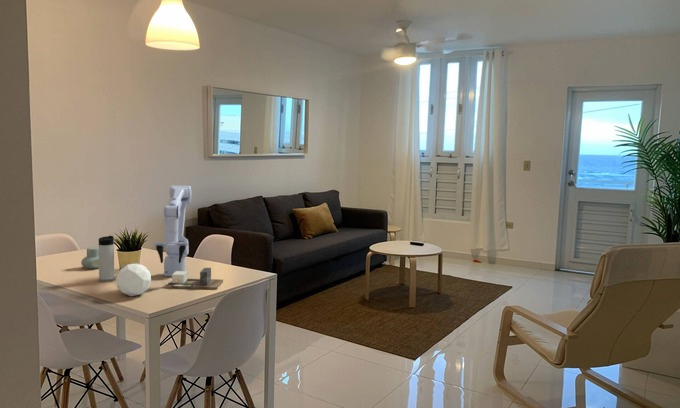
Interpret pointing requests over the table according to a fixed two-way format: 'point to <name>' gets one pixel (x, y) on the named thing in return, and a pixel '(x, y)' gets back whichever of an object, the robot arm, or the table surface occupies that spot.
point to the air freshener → (91, 258)
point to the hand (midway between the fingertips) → (170, 262)
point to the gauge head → (179, 277)
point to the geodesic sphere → (133, 279)
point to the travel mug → (106, 259)
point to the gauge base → (198, 282)
